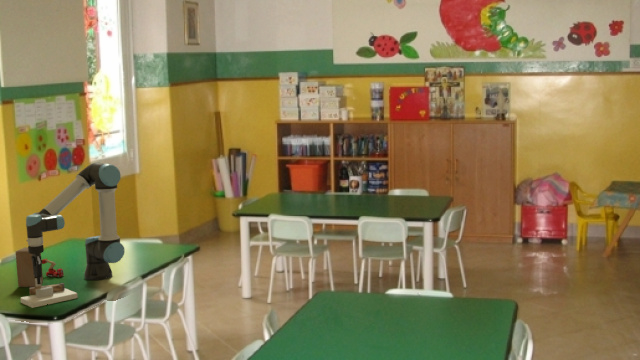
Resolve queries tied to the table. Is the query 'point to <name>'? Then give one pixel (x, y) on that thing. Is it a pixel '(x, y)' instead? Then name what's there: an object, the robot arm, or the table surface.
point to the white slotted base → (48, 297)
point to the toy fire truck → (52, 271)
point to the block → (25, 268)
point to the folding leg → (55, 287)
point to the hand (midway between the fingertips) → (38, 289)
